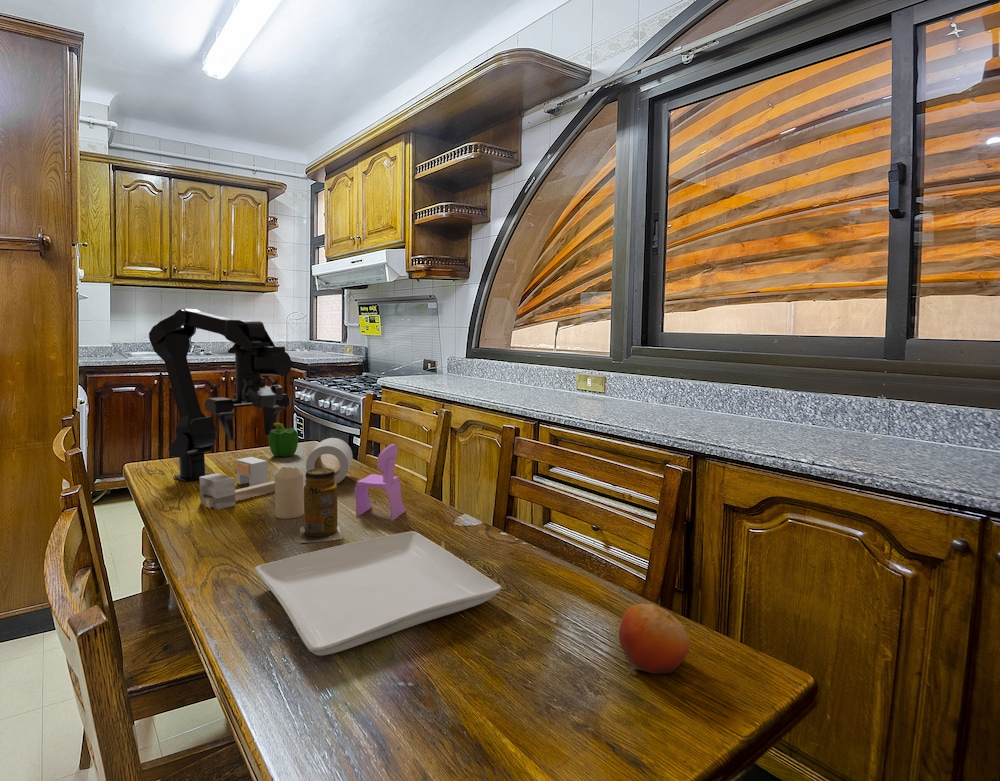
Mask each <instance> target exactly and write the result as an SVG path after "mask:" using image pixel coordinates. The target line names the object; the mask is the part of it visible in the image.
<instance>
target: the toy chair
mask: <svg viewBox="0 0 1000 781" xmlns="http://www.w3.org/2000/svg"><path fill="white" fill-rule="evenodd" d="M398 450H399V449H398V446H397V444H395V443H391V444H389V445H387V446H386V447H385V448H383V449H382V451H380V453H379V454H378V457H377V459H376V460H377V461H376V464H377V465H376V467H377V468H376V469H377V471H380V472H381V473H382V474H381V475H380V474H375V473H371V474H369V475H367V476H366V477H364V478H362V479H359V480H357V481H356V486H355V487H354V495H355V516H356V517H359V516H361V515H362V514H364V513H365V512H367V511H368V510H371V509H372V508H373V505H372V503H371V501H370V498H369V494H368V493H369V487H370V488H375V489H380V490H381V489H382V490H384V492H385V493H386V496H387V498H388V501H389V502H388V503H389V506H390V521H394V520H395V519H397V518H399V516H401V515H402V514H404V513H405V512H406V508H405V506H404V504H403V500H402V495H401V493H402V491H401V487H402V486H401V482H400V478H399V476H396V475H394V474H395V469H396V468H395V467H396V458H398V453H399V452H398Z"/></svg>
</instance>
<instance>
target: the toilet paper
mask: <svg viewBox="0 0 1000 781" xmlns="http://www.w3.org/2000/svg"><path fill="white" fill-rule="evenodd" d="M327 454H328V455H331V456H334V457H336V458H337V459H338V461H339V465H340V466H338V467H328V466H326V465H325V464H324V462H323V461H322V457H321V456H323V455H327ZM352 462H353V451H352V448H351V447H350V446H349V444H348V443H347V442H346V441H345V440H343V439H341V438H336V437H329V438H326V439H323V440H321V441H320V442H318V444H317V445H316V446H315V447H314V448H313V450H312V451H311V453H309V455H308V457H307V459H306V463H305V469H306V470H305V471H306V472H307V471H309V470H311V469H317V468H328V469H332V470H334V473H335V476H334V477H335V481H334V482H335V483H336V485H337V484H340V483H341V482H343V480H344V479H345V478H346V476H347V475H348V472H349V469H350V467H351V464H353V463H352Z"/></svg>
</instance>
